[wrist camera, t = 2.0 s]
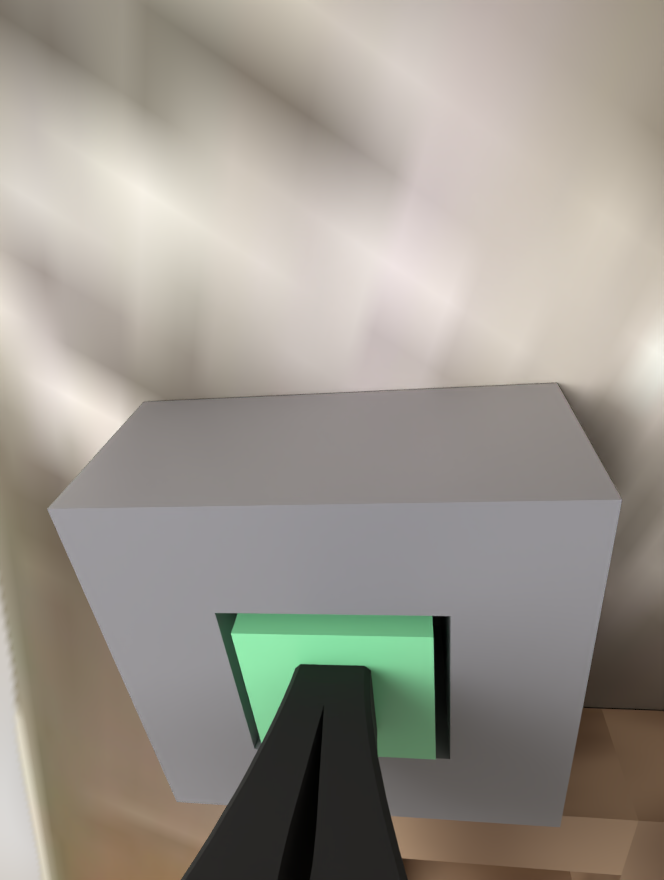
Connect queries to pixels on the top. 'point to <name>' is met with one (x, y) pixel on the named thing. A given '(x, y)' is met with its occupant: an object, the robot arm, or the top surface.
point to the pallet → (565, 817)
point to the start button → (347, 643)
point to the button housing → (357, 572)
